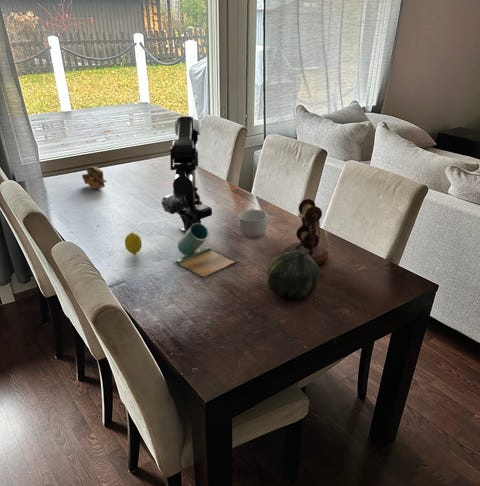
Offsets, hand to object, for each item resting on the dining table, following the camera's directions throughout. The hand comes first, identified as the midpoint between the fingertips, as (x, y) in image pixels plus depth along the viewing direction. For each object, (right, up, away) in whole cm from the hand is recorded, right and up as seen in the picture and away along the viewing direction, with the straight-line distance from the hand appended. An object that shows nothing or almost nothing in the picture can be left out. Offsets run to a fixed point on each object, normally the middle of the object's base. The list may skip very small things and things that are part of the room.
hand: (188, 230), depth 145 cm
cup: (-1, -5, +5) cm, 7 cm away
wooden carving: (-52, +28, +63) cm, 86 cm away
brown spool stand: (+40, -9, +3) cm, 41 cm away
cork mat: (+7, -11, 0) cm, 13 cm away
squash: (+33, -20, -15) cm, 42 cm away
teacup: (+22, +2, +21) cm, 31 cm away
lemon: (-19, -8, +5) cm, 21 cm away
